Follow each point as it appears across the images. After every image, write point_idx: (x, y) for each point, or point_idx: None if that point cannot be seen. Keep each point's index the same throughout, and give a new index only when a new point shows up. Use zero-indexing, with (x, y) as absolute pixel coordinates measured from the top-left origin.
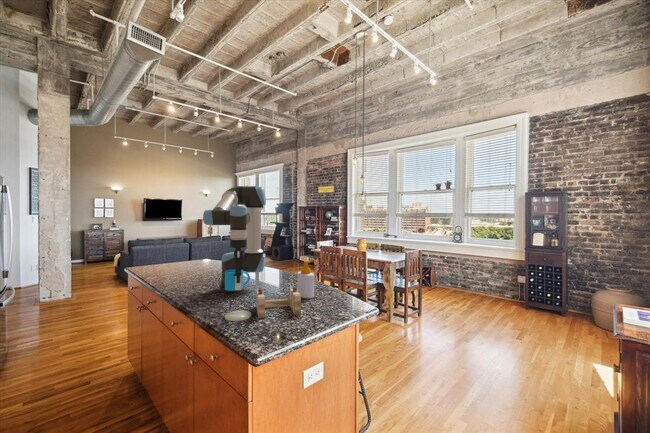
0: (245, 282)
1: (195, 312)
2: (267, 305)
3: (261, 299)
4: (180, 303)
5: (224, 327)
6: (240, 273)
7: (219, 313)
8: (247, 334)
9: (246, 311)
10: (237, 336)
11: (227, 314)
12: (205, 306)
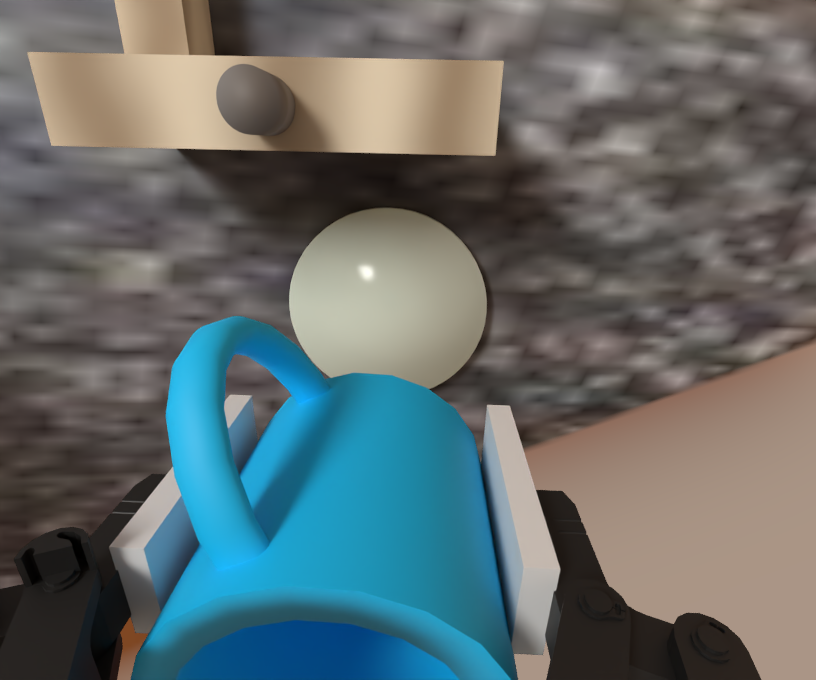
0: (278, 365)
1: None
2: (202, 25)
3: (495, 115)
4: None
5: (564, 390)
6: (746, 668)
7: None
8: (757, 258)
9: (326, 245)
10: (752, 320)
11: None
12: None
